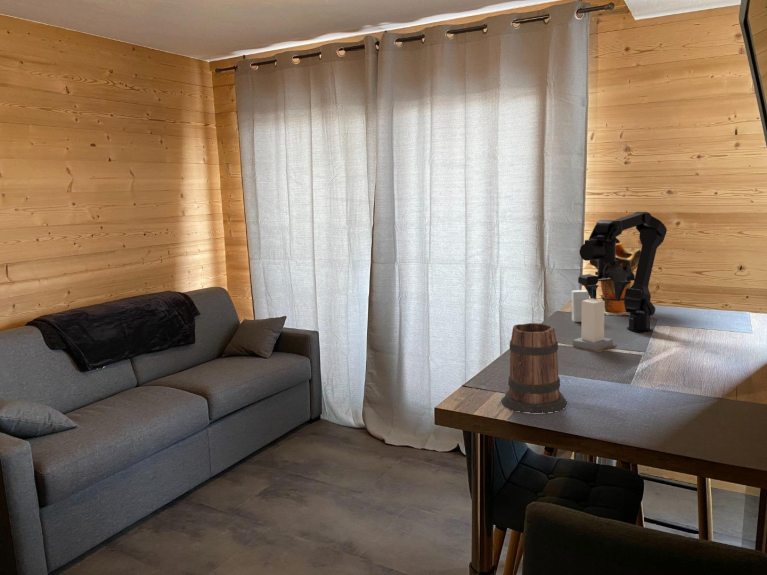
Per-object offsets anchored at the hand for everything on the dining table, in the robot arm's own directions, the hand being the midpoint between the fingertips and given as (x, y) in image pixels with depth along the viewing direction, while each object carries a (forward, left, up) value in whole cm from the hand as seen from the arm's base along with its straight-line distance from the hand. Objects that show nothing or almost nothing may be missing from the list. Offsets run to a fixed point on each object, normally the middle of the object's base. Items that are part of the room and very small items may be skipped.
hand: (606, 302), depth 209 cm
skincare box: (-8, -27, -13) cm, 31 cm away
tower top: (+11, +8, -12) cm, 18 cm away
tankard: (+50, +40, -13) cm, 65 cm away
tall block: (+11, +8, -10) cm, 17 cm away
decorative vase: (-30, -35, -13) cm, 48 cm away
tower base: (+11, +8, -14) cm, 20 cm away
